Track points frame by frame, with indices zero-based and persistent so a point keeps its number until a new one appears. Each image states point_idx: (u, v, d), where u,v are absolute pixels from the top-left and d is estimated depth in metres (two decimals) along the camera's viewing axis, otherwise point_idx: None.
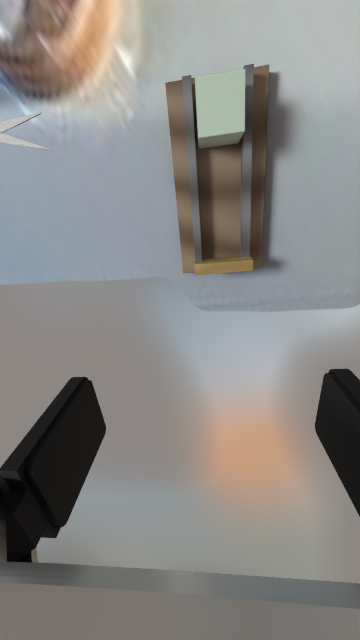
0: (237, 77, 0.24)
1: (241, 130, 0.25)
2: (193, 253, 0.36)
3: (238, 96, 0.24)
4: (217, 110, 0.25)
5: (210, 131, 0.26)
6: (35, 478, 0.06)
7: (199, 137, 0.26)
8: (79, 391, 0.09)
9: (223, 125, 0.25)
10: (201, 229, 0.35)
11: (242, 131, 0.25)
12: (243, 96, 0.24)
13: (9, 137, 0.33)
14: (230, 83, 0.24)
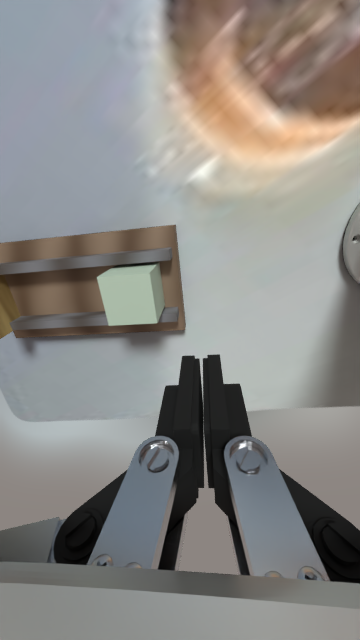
0: (150, 316, 0.23)
1: (108, 322, 0.24)
2: (4, 260, 0.27)
3: (136, 318, 0.23)
4: (123, 297, 0.22)
5: (104, 291, 0.22)
6: (197, 438, 0.07)
7: (97, 278, 0.22)
8: (197, 367, 0.09)
9: (111, 304, 0.23)
10: None
11: None
12: (136, 322, 0.23)
13: None
14: (145, 310, 0.23)
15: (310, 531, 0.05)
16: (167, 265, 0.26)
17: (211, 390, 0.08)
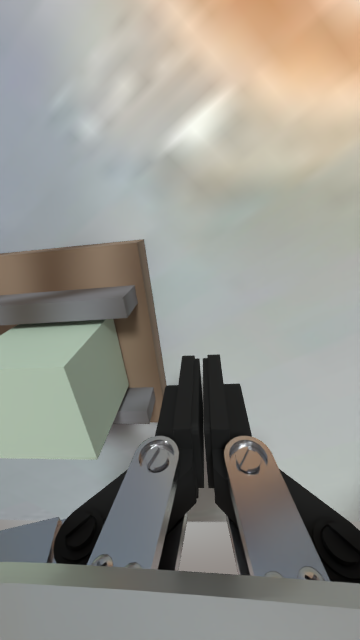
0: (81, 447, 0.10)
1: None
2: None
3: (50, 449, 0.10)
4: (13, 412, 0.10)
5: None
6: (197, 438, 0.07)
7: None
8: (197, 367, 0.09)
9: None
10: None
11: None
12: (52, 456, 0.11)
13: None
14: (68, 436, 0.10)
15: (310, 531, 0.05)
16: (128, 318, 0.13)
17: (211, 390, 0.08)
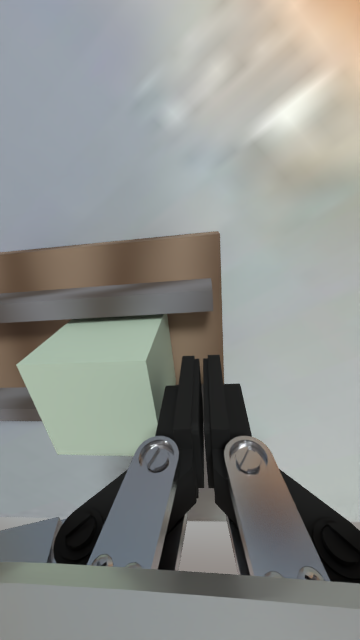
0: None
1: (57, 449, 0.11)
2: None
3: (116, 446, 0.10)
4: (83, 407, 0.09)
5: (38, 393, 0.09)
6: (197, 438, 0.07)
7: (20, 366, 0.09)
8: (197, 367, 0.09)
9: (58, 419, 0.10)
10: None
11: None
12: (116, 453, 0.10)
13: None
14: (137, 432, 0.10)
15: (310, 531, 0.05)
16: (200, 312, 0.13)
17: (211, 390, 0.08)
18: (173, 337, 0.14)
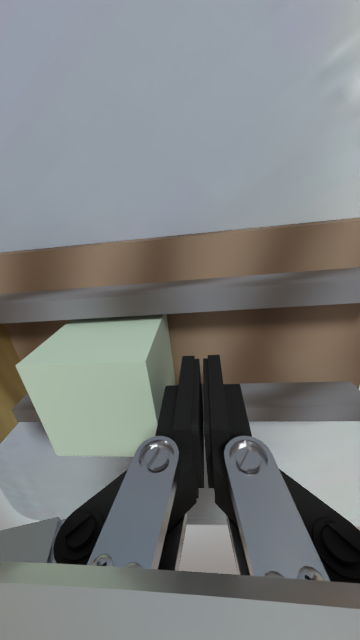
0: None
1: (56, 450, 0.11)
2: (1, 289, 0.13)
3: (116, 446, 0.10)
4: (82, 408, 0.09)
5: (37, 393, 0.09)
6: (197, 438, 0.07)
7: (19, 367, 0.09)
8: (197, 367, 0.09)
9: (57, 420, 0.10)
10: None
11: None
12: (116, 454, 0.10)
13: None
14: (137, 433, 0.10)
15: (310, 531, 0.05)
16: (356, 304, 0.12)
17: (211, 390, 0.08)
18: (317, 331, 0.13)
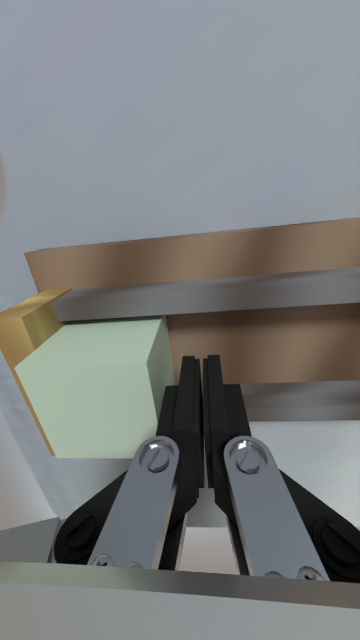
0: None
1: (56, 453, 0.11)
2: (85, 283, 0.13)
3: (116, 448, 0.10)
4: (82, 410, 0.09)
5: (37, 396, 0.09)
6: (197, 438, 0.07)
7: None
8: (197, 367, 0.09)
9: (56, 422, 0.10)
10: None
11: None
12: (116, 456, 0.10)
13: None
14: (137, 434, 0.10)
15: (310, 531, 0.05)
16: None
17: (211, 390, 0.08)
18: None
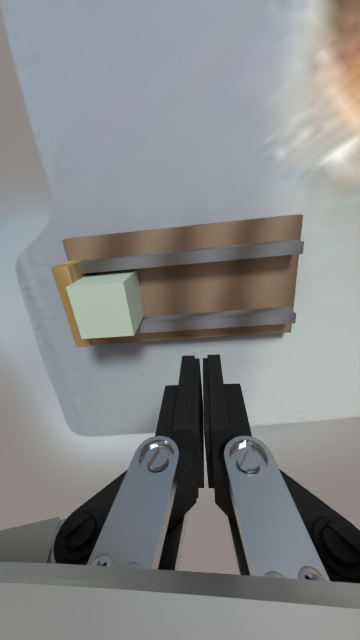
0: (126, 328, 0.21)
1: (81, 335, 0.22)
2: (94, 256, 0.24)
3: (111, 330, 0.21)
4: (95, 309, 0.21)
5: (74, 302, 0.20)
6: (197, 438, 0.07)
7: (67, 288, 0.20)
8: (197, 367, 0.09)
9: (83, 316, 0.21)
10: None
11: None
12: (111, 335, 0.22)
13: None
14: (120, 321, 0.21)
15: (310, 531, 0.05)
16: (285, 260, 0.23)
17: (211, 390, 0.08)
18: (267, 276, 0.24)
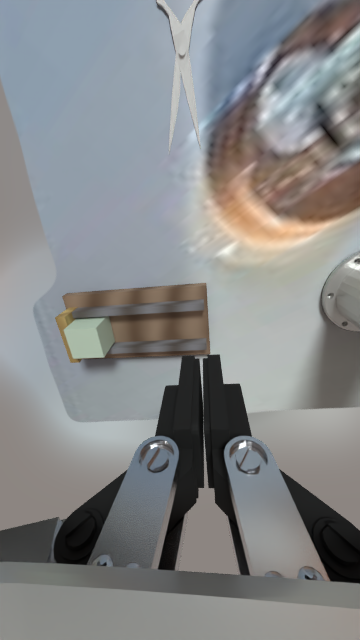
0: (99, 353, 0.35)
1: (73, 356, 0.36)
2: (82, 305, 0.38)
3: (90, 354, 0.36)
4: (80, 342, 0.35)
5: (68, 337, 0.35)
6: (197, 438, 0.07)
7: (64, 330, 0.34)
8: (197, 367, 0.09)
9: (73, 346, 0.35)
10: None
11: (73, 357, 0.36)
12: (90, 357, 0.36)
13: (178, 95, 0.27)
14: (95, 349, 0.35)
15: (310, 531, 0.05)
16: (200, 310, 0.37)
17: (211, 390, 0.08)
18: (190, 319, 0.38)
